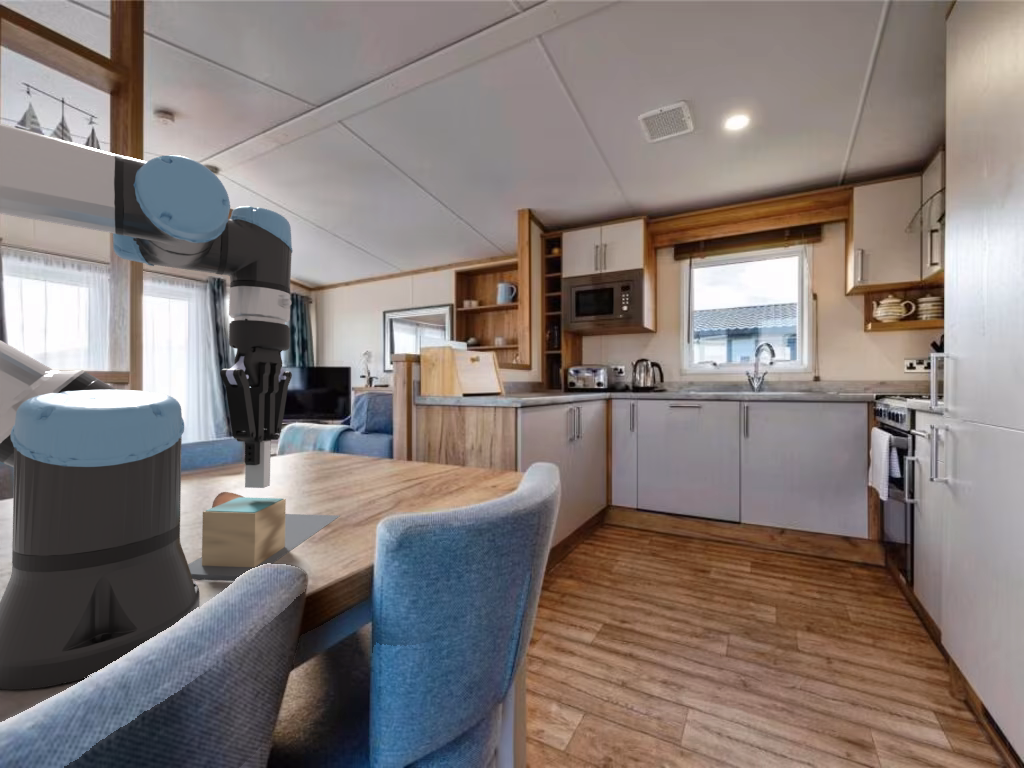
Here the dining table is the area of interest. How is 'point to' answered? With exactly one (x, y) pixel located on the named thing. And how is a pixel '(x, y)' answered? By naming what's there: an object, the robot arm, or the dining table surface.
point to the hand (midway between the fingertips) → (257, 486)
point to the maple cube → (243, 532)
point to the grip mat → (295, 534)
